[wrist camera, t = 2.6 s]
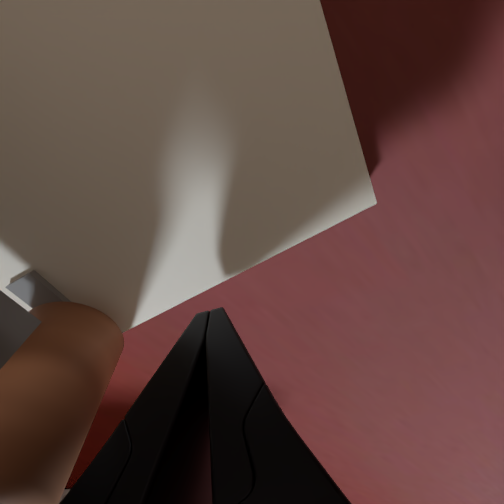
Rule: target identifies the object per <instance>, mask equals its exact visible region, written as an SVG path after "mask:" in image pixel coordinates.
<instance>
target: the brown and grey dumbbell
mask: <svg viewBox="0 0 504 504" xmlns="http://www.w3.org/2000/svg"><path fill="white" fill-rule="evenodd" d="M123 347H124V338H123V334H122V332H121V330H120V328H119V327H118V325H117V324H116V323H115V322H114V321H113V320H112V319H111V318H110V317H108V316H107V315H106V314H104V313H103V312H101V311H99V310H97V309H95V308H92V307H90V306H87V305H84V304H80V303H75V302H50V303H45V304H42V305H39V306H37V307H35V308H33V309H31V310H30V311H29V312H28V311H27V310H26V309H24V308H23V307H22V306H20V305H19V304H18V303H16V302H15V301H14V300H13V299H11V298H10V297H9V296H7V295H6V294H5V293H3V292H2V291H1V290H0V504H58V503H59V501H60V498H61V496H62V494H63V491H64V489H65V487H66V484H67V482H68V479H69V477H70V475H71V472H72V470H73V467H74V465H75V463H76V460H77V458H78V456H79V453H80V451H81V448H82V446H83V444H84V441H85V439H86V436H87V434H88V432H89V429H90V427H91V424H92V422H93V420H94V417H95V415H96V413H97V410H98V408H99V405H100V403H101V401H102V398H103V396H104V393H105V391H106V389H107V386H108V384H109V382H110V379H111V377H112V374H113V372H114V370H115V367H116V365H117V362H118V360H119V358H120V355H121V353H122V350H123Z"/></svg>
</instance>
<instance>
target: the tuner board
mask: <svg viewBox="0 0 504 504" xmlns="http://www.w3.org/2000/svg"><path fill="white" fill-rule="evenodd" d="M375 204H377V202H376V198H375V194H374V191H373V187H372V184H371V180H370V177H369V173H368V170H367V166H366V163H365V159H364V155H363V152H362V148H361V145H360V141H359V138H358V134H357V131H356V127H355V123H354V120H353V116H352V113H351V109H350V106H349V102H348V99H347V95H346V91H345V88H344V84H343V81H342V77H341V74H340V70H339V67H338V63H337V60H336V56H335V52H334V49H333V45H332V42H331V38H330V35H329V31H328V28H327V24H326V20H325V17H324V13H323V10H322V6H321V3H320V0H0V290H1V291H2V292H3V293H5V294H6V295H7V296H9V297H10V298H11V299H13V300H14V301H15V302H16V303H18V304H19V305H20V306H22V307H23V308H24V309H26V310H27V311H28V312H29V311H30V310H31V309H33V308H35V307H37V306H39V305H42V304H45V303H50V302H75V303H80V304H84V305H87V306H90V307H92V308H95V309H97V310H99V311H101V312H103V313H104V314H106V315H107V316H108V317H110V318H111V319H112V320H113V321H114V322H115V323H116V324H117V325H118V327H119V328H120V330H121V332H122V333H123V332H125V331H127V330H129V329H131V328H133V327H135V326H137V325H139V324H141V323H143V322H145V321H147V320H149V319H151V318H153V317H155V316H156V315H158V314H160V313H162V312H164V311H166V310H168V309H170V308H172V307H174V306H176V305H178V304H180V303H182V302H184V301H186V300H188V299H190V298H192V297H194V296H196V295H198V294H200V293H202V292H204V291H206V290H208V289H210V288H212V287H214V286H216V285H218V284H219V283H221V282H223V281H225V280H227V279H229V278H231V277H233V276H235V275H237V274H239V273H241V272H243V271H245V270H247V269H249V268H251V267H253V266H255V265H257V264H259V263H261V262H263V261H265V260H267V259H269V258H271V257H273V256H275V255H277V254H279V253H281V252H282V251H284V250H286V249H288V248H290V247H292V246H294V245H296V244H298V243H300V242H302V241H304V240H306V239H308V238H310V237H312V236H314V235H316V234H318V233H320V232H322V231H324V230H326V229H328V228H330V227H332V226H334V225H336V224H338V223H340V222H342V221H344V220H345V219H347V218H349V217H351V216H353V215H355V214H357V213H359V212H361V211H363V210H365V209H367V208H369V207H371V206H373V205H375Z"/></svg>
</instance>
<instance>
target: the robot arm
mask: <svg viewBox="0 0 504 504" xmlns="http://www.w3.org/2000/svg"><path fill="white" fill-rule="evenodd" d="M59 504H351V503H350V501H349V500H348V499H347V497H346V496H345V495H344V494H343V492H342V491H341V490H340V488H339V487H338V486H337V485H336V483H335V482H334V481H333V479H332V478H331V477H330V475H329V474H328V473H327V471H326V470H325V469H324V467H323V466H322V465H321V464H320V462H319V461H318V460H317V458H316V457H315V456H314V454H313V453H312V452H311V450H310V449H309V448H308V447H307V445H306V444H305V443H304V441H303V440H302V439H301V437H300V436H299V435H298V433H297V432H296V430H295V429H294V428H293V426H292V425H291V423H290V422H289V421H288V419H287V418H286V416H285V415H284V413H283V412H282V410H281V408H280V407H279V405H278V403H277V402H276V400H275V399H274V397H273V395H272V393H271V391H270V390H269V388H268V386H267V385H266V383H265V381H264V379H263V378H262V376H261V374H260V372H259V370H258V369H257V367H256V365H255V363H254V362H253V360H252V358H251V356H250V354H249V353H248V351H247V349H246V347H245V345H244V344H243V342H242V340H241V338H240V337H239V335H238V333H237V331H236V329H235V328H234V326H233V324H232V322H231V321H230V319H229V317H228V315H227V313H226V312H225V310H224V308H222V307H221V308H217V309H213V310H211V311H205V312H201V313H198V314H196V315H195V317H194V318H193V320H192V321H191V322H190V324H189V325H188V327H187V328H186V330H185V331H184V332H183V334H182V335H181V337H180V338H179V340H178V341H177V342H176V344H175V345H174V347H173V348H172V350H171V351H170V352H169V354H168V355H167V357H166V358H165V360H164V361H163V362H162V364H161V365H160V367H159V368H158V370H157V371H156V372H155V374H154V375H153V377H152V378H151V380H150V381H149V382H148V384H147V385H146V387H145V388H144V390H143V391H142V392H141V394H140V395H139V397H138V398H137V400H136V401H135V402H134V404H133V405H132V407H131V408H130V410H129V411H128V412H127V414H126V415H125V419H123V420H122V421H121V422H120V424H119V425H118V426H117V428H116V429H115V431H114V432H113V434H112V435H111V436H110V438H109V439H108V441H107V442H106V443H105V445H104V446H103V447H102V449H101V450H100V452H99V453H98V454H97V456H96V457H95V458H94V460H93V461H92V462H91V464H90V465H89V466H88V468H87V469H86V470H85V471H84V473H83V474H82V475H81V477H80V478H79V479H78V480H77V482H76V483H75V484H74V486H73V487H72V488H71V489H70V491H69V492H68V493H67V494H66V496H65V497H64V498H63V499H62V501H61V502H60V503H59Z"/></svg>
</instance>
